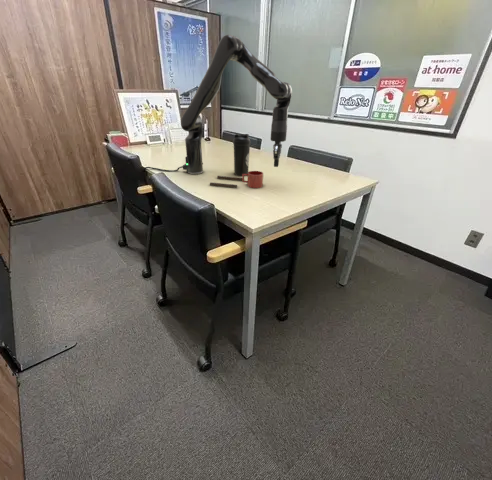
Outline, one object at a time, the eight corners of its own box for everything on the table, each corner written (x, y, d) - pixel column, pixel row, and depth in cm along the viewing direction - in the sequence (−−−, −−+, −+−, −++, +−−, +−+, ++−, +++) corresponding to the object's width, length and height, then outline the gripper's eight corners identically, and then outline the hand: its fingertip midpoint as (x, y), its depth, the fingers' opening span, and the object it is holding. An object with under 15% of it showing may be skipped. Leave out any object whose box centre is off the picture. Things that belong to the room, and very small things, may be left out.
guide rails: (209, 185, 143) (209, 182, 142) (217, 178, 154) (217, 175, 154) (236, 188, 140) (236, 185, 139) (242, 180, 151) (242, 177, 150)
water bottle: (247, 177, 157) (249, 135, 145) (231, 175, 159) (231, 135, 147) (250, 172, 166) (252, 133, 154) (234, 171, 167) (235, 132, 156)
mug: (263, 184, 146) (264, 171, 143) (261, 188, 139) (261, 175, 136) (243, 182, 149) (244, 169, 145) (240, 186, 142) (240, 173, 138)
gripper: (273, 128, 133) (270, 162, 142) (269, 131, 122) (266, 169, 131) (288, 128, 132) (284, 163, 141) (285, 132, 121) (281, 170, 129)
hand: (276, 166), depth 136 cm, fingers closed
